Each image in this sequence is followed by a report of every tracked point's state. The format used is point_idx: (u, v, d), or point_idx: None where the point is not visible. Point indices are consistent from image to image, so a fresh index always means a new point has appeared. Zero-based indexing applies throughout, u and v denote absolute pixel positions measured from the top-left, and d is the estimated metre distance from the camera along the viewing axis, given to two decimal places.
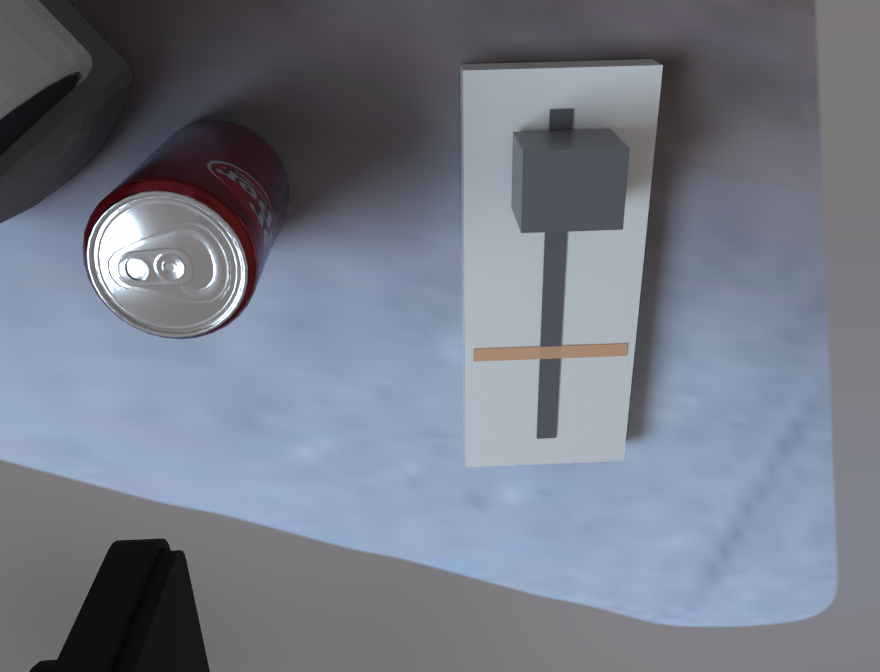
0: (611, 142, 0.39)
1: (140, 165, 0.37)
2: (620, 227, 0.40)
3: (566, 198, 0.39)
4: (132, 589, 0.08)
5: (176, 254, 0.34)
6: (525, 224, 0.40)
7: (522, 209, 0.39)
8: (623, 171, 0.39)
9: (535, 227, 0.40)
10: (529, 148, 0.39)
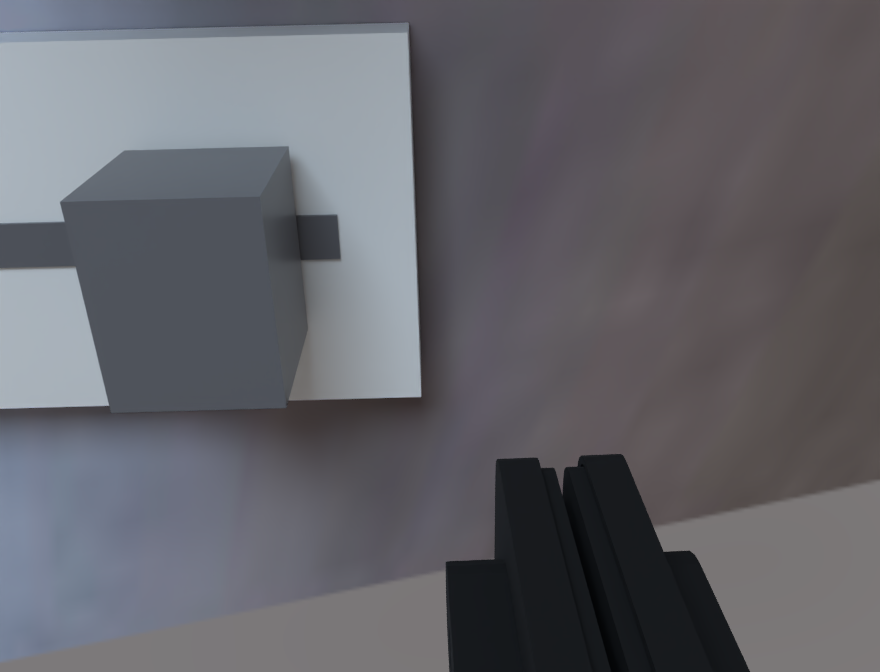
0: (290, 359, 0.20)
1: None
2: (115, 407, 0.19)
3: (161, 297, 0.17)
4: (541, 494, 0.10)
5: None
6: (83, 211, 0.17)
7: (119, 202, 0.16)
8: (237, 401, 0.19)
9: (80, 235, 0.17)
10: (266, 206, 0.17)
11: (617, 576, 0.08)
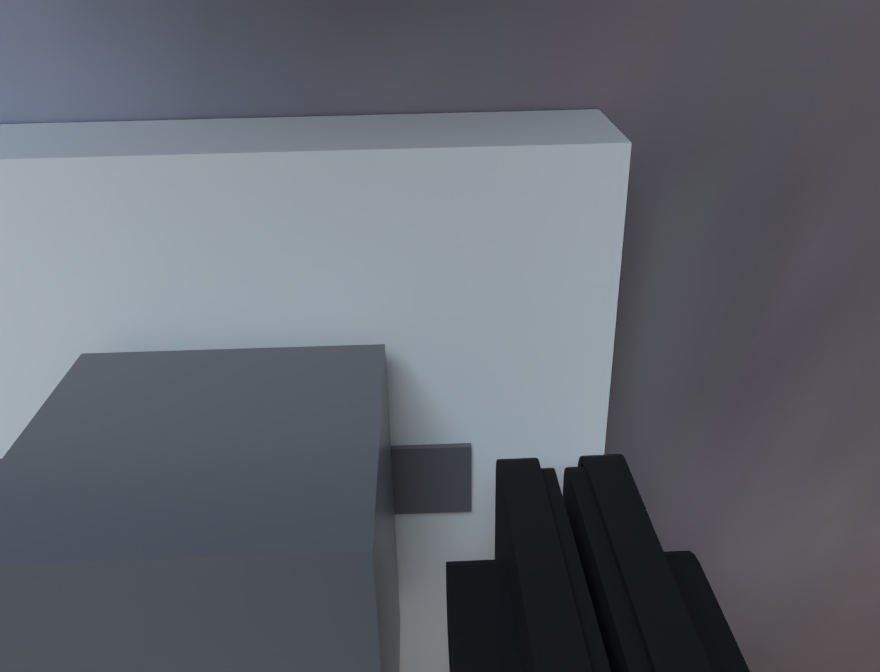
0: None
1: None
2: None
3: None
4: (541, 495, 0.10)
5: None
6: None
7: (57, 564, 0.07)
8: None
9: None
10: (375, 546, 0.08)
11: (617, 576, 0.08)
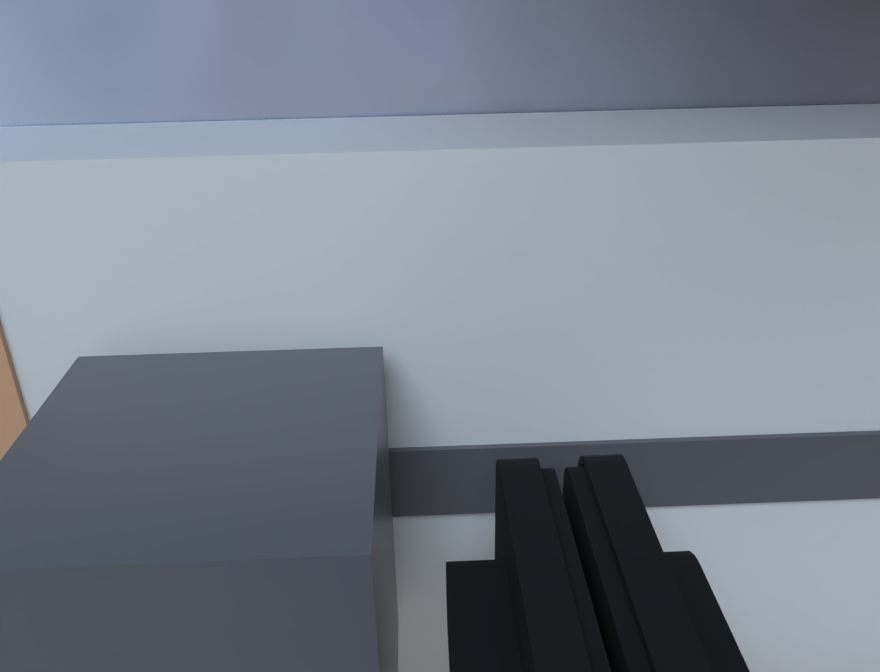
0: None
1: None
2: None
3: None
4: (541, 494, 0.10)
5: None
6: None
7: (54, 569, 0.07)
8: None
9: None
10: (375, 549, 0.08)
11: (617, 576, 0.08)
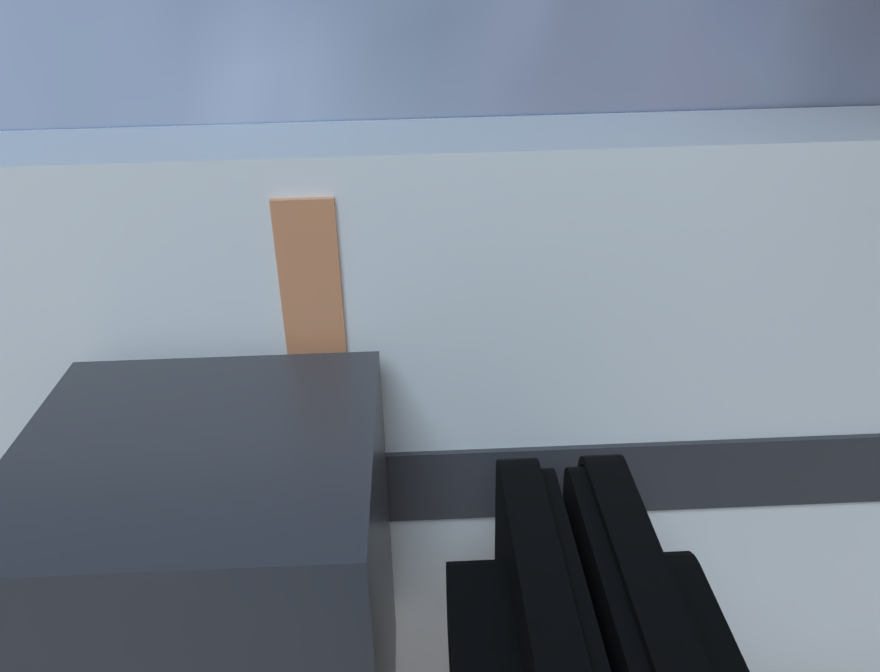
0: None
1: None
2: None
3: None
4: (541, 495, 0.10)
5: None
6: None
7: (47, 578, 0.07)
8: None
9: None
10: (370, 557, 0.08)
11: (617, 576, 0.08)
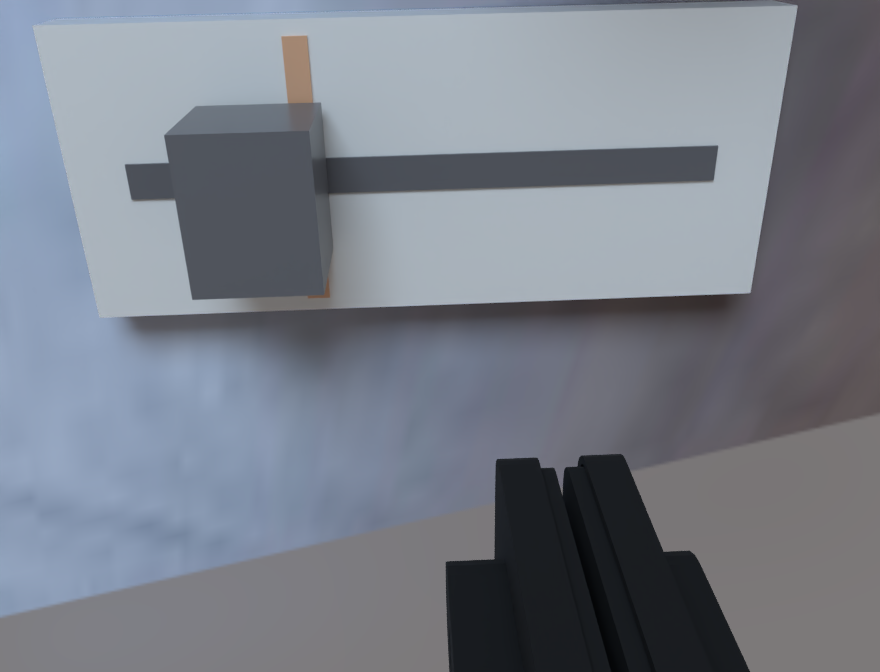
0: (325, 261, 0.26)
1: None
2: (195, 295, 0.25)
3: (234, 208, 0.24)
4: (540, 495, 0.10)
5: None
6: (180, 142, 0.23)
7: (207, 135, 0.23)
8: (287, 289, 0.25)
9: (176, 160, 0.23)
10: (311, 139, 0.23)
11: (617, 576, 0.08)
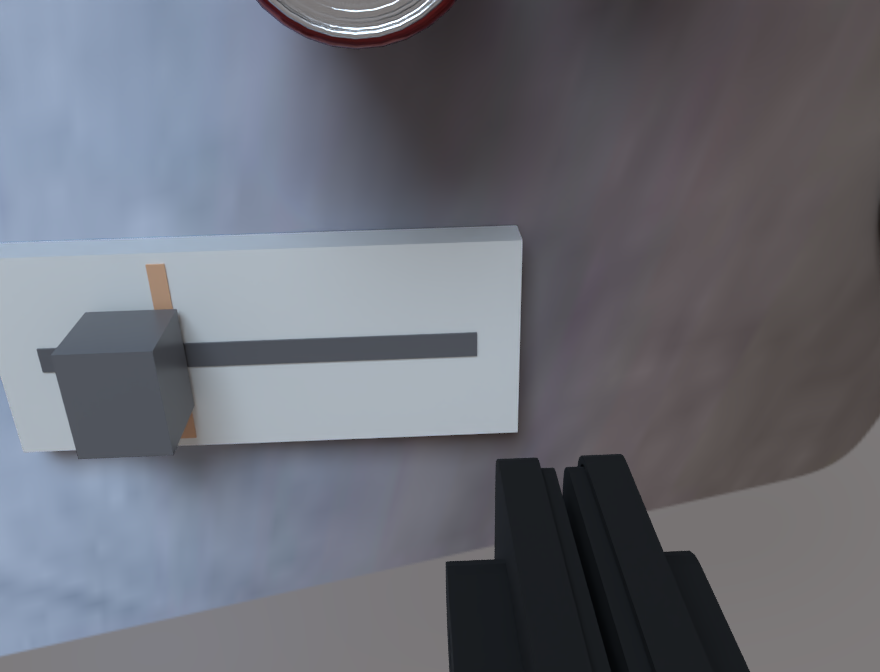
0: (178, 427, 0.36)
1: None
2: (80, 456, 0.35)
3: (104, 400, 0.34)
4: (541, 495, 0.10)
5: None
6: (62, 359, 0.33)
7: (81, 354, 0.33)
8: (146, 451, 0.35)
9: (60, 370, 0.33)
10: (157, 354, 0.33)
11: (617, 576, 0.08)
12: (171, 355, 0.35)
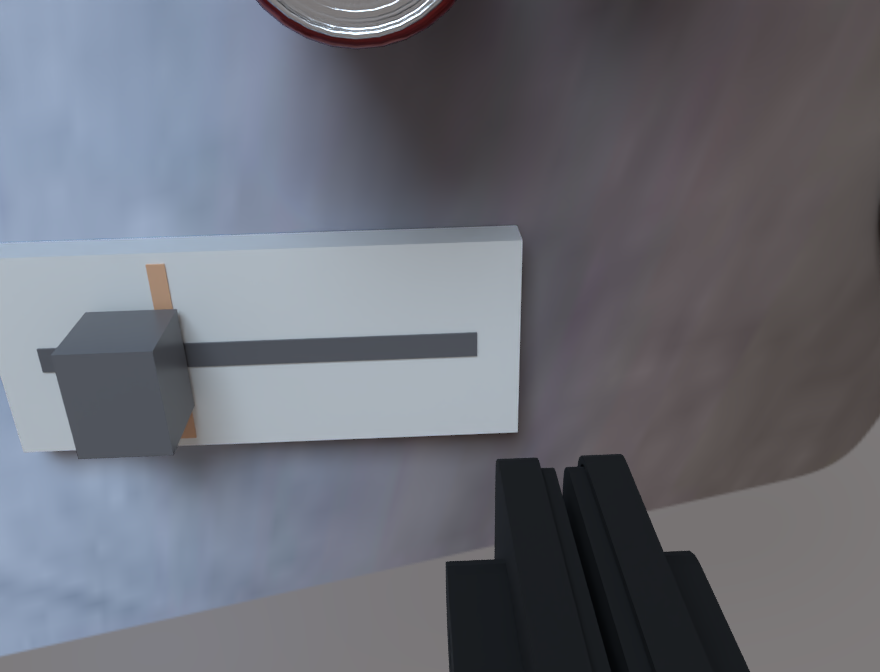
0: (178, 427, 0.36)
1: None
2: (80, 456, 0.35)
3: (104, 400, 0.34)
4: (541, 495, 0.10)
5: None
6: (62, 359, 0.33)
7: (81, 354, 0.33)
8: (146, 451, 0.35)
9: (60, 370, 0.33)
10: (157, 354, 0.33)
11: (617, 576, 0.08)
12: (171, 355, 0.35)
